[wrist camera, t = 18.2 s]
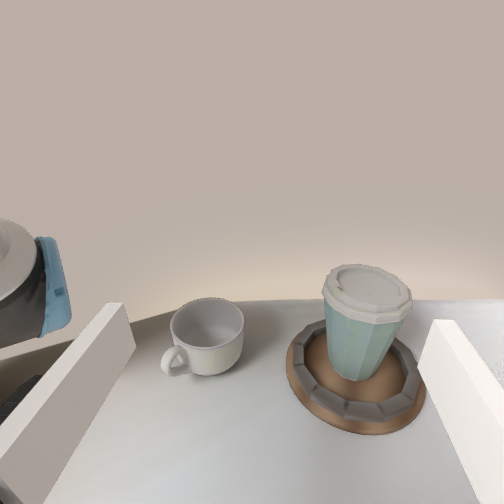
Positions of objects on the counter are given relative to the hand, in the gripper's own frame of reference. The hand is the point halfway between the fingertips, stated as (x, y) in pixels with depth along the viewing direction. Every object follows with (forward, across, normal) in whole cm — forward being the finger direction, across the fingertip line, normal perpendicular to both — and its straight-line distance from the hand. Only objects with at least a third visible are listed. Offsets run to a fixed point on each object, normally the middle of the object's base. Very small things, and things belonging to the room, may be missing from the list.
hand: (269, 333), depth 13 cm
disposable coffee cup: (+22, +11, -26) cm, 36 cm away
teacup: (+21, -11, -28) cm, 36 cm away
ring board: (+22, +11, -27) cm, 36 cm away
